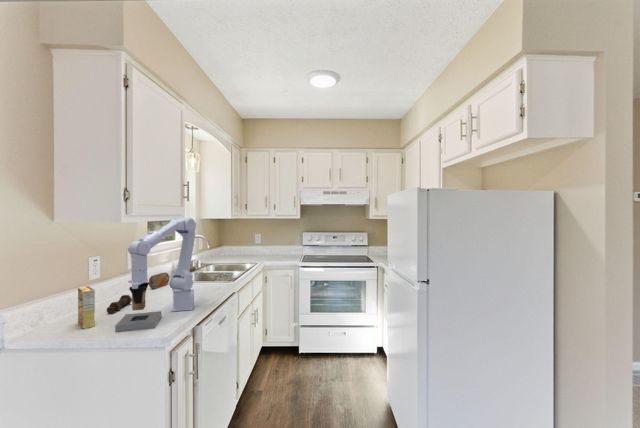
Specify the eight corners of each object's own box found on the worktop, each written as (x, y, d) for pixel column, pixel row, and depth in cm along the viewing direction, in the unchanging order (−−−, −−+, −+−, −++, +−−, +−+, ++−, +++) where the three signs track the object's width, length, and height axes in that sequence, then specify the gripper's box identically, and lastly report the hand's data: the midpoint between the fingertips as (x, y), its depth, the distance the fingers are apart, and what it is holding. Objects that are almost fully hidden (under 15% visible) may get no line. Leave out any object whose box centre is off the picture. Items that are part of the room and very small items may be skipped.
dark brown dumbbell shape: (108, 318, 144) (125, 307, 159) (118, 312, 144) (134, 302, 159) (101, 307, 144) (118, 297, 158) (111, 302, 144) (127, 292, 159)
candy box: (77, 324, 132) (77, 287, 132) (89, 321, 135) (89, 285, 135) (82, 329, 126) (82, 291, 126) (95, 326, 129) (95, 289, 129)
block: (145, 306, 134) (145, 290, 134) (143, 309, 130) (142, 292, 130) (134, 307, 133) (134, 291, 133) (132, 310, 129) (132, 293, 129)
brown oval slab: (152, 290, 187) (152, 276, 187) (147, 290, 188) (147, 276, 187) (169, 284, 202) (169, 271, 201) (165, 284, 202) (165, 271, 202)
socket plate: (161, 316, 141) (161, 311, 141) (154, 328, 127) (154, 322, 127) (126, 320, 137) (126, 314, 136) (115, 332, 123) (115, 325, 123)
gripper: (133, 267, 137) (133, 297, 138) (123, 273, 123) (123, 307, 124) (151, 266, 139) (151, 296, 140) (143, 272, 125) (143, 306, 126)
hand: (139, 301), depth 132 cm, fingers closed on block, 4 cm apart
